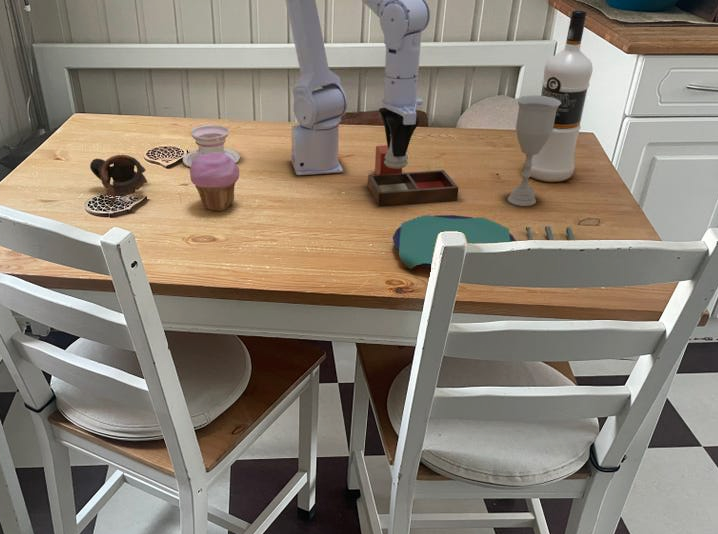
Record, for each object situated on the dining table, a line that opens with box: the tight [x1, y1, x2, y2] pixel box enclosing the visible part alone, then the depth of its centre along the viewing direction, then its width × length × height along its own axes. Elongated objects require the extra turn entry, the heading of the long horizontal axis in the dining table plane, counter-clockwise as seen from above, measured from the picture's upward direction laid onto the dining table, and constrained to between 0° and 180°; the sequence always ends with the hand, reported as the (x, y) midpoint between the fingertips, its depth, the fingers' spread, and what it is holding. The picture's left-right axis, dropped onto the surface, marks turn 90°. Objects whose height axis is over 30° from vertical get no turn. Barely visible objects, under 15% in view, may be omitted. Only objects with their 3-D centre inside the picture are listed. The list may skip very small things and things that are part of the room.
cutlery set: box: [392, 214, 575, 270], centre depth 117 cm, size 20×30×2 cm, turn 82°
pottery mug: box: [89, 154, 148, 203], centre depth 138 cm, size 12×10×8 cm
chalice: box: [507, 94, 561, 207], centre depth 129 cm, size 7×7×18 cm
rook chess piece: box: [384, 134, 409, 169], centre depth 132 cm, size 4×4×8 cm
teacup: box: [182, 124, 241, 168], centre depth 151 cm, size 12×12×6 cm
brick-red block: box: [374, 144, 403, 175], centre depth 143 cm, size 4×4×6 cm
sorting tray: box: [367, 169, 459, 207], centre depth 137 cm, size 15×9×2 cm, turn 98°
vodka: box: [530, 9, 593, 183], centre depth 136 cm, size 9×9×30 cm
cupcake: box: [189, 152, 240, 212], centre depth 131 cm, size 9×9×10 cm
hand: (396, 152), depth 133 cm, fingers closed on rook chess piece, 3 cm apart
